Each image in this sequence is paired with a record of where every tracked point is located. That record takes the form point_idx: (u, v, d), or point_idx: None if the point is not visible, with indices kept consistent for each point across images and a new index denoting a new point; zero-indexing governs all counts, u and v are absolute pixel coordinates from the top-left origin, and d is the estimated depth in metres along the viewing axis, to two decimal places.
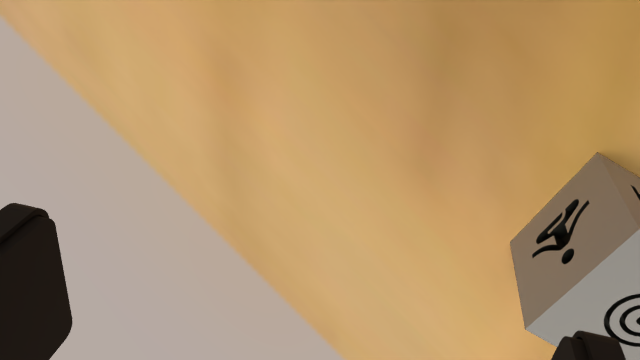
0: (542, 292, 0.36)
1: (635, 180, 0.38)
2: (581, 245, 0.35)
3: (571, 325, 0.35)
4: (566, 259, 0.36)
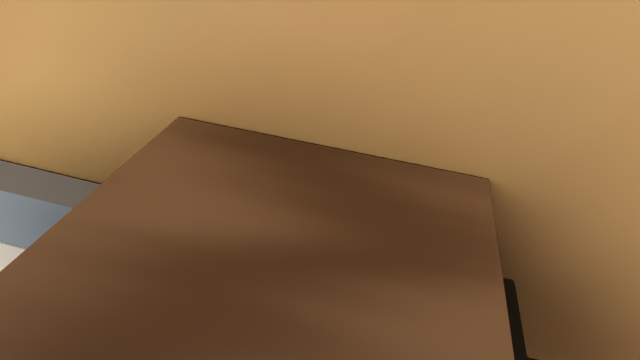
0: None
1: None
2: None
3: None
4: None
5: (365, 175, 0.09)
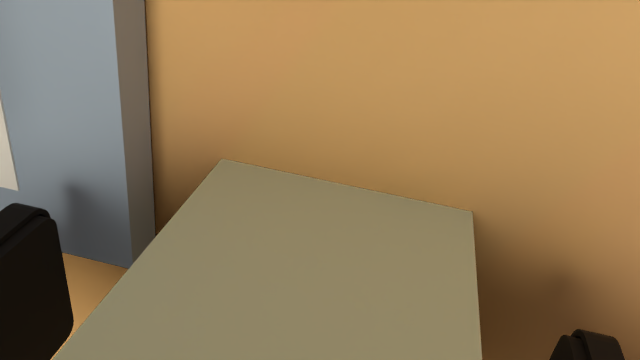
0: None
1: None
2: None
3: None
4: None
5: None
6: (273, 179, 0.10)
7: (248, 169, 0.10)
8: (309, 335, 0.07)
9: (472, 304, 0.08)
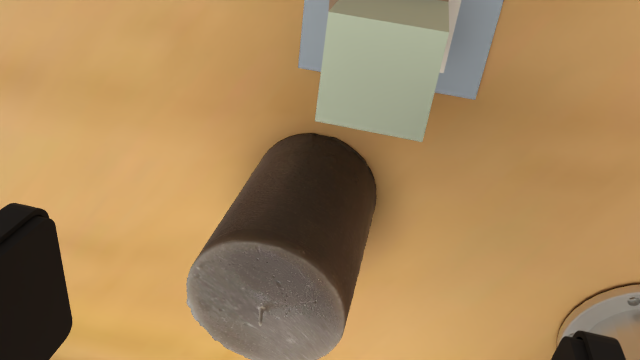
0: None
1: None
2: None
3: None
4: None
5: None
6: None
7: None
8: (397, 12, 0.23)
9: (446, 13, 0.24)
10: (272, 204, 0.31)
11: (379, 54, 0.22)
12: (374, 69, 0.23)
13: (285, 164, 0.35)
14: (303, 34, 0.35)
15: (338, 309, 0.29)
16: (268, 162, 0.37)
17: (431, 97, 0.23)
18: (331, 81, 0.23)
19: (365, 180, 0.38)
